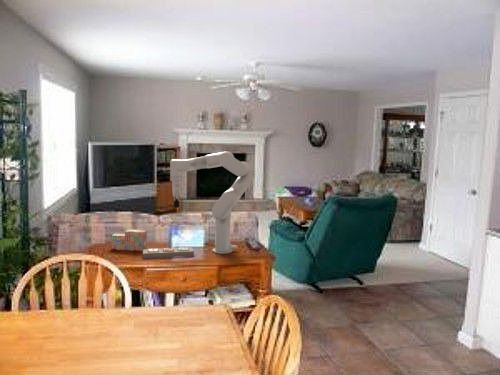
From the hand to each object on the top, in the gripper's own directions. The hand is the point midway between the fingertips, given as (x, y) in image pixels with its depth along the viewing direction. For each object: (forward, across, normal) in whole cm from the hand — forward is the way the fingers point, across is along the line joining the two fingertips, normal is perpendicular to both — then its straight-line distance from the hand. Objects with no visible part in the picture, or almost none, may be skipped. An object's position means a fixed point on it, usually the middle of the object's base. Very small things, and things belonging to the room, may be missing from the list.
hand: (176, 207), depth 283 cm
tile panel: (+27, -15, +6) cm, 32 cm away
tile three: (+26, -15, +6) cm, 30 cm away
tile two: (+26, -15, -3) cm, 30 cm away
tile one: (+26, -15, +15) cm, 33 cm away
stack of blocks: (+28, +4, +30) cm, 41 cm away
